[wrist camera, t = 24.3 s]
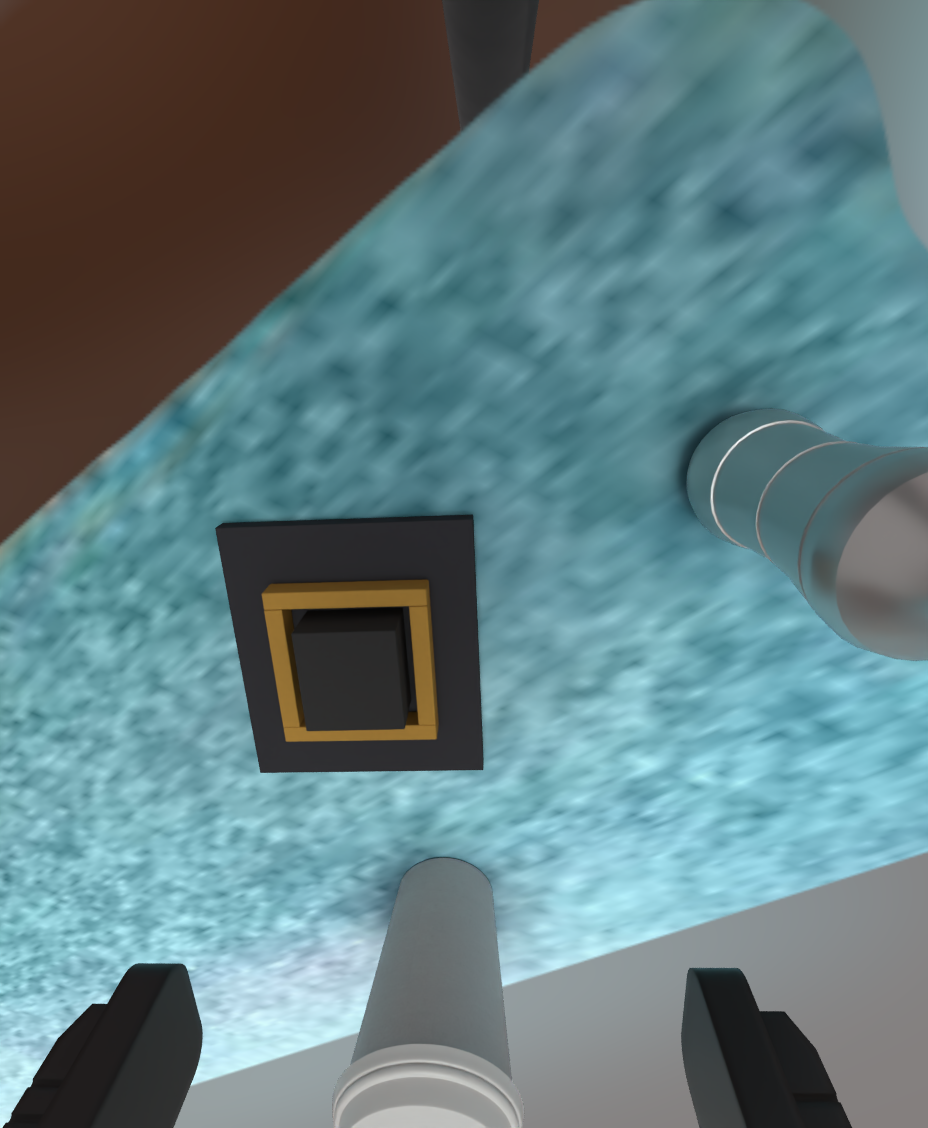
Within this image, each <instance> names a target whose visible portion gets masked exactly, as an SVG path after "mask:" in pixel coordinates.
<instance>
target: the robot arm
mask: <svg viewBox="0 0 928 1128" xmlns="http://www.w3.org/2000/svg"><path fill="white" fill-rule="evenodd" d="M202 1034H203V1033H202V1024H201V1020H200V1017H199V1013H198V1009H197V1005H196V1002H195V998H194V994H193V990H192V986H191V983H190V979H189V975H188V971H187V969H186V967H185V965H183V964H148V963H138V964H135V965H133V966H132V967H131V968H129V969H128V971H127V972H126V973H125V975H124V976H123V978H122V979H121V981H120V983H119V985H118V986H117V988H116V990H115V991H114V993H113V995H112V997H111V998H110V1000H109V1002H108V1004H92V1005H91V1006H90V1007H89V1008H88V1009H87V1010H86V1011H85V1012H84V1013H83V1014H82V1015H81V1016H80V1017H79V1018H78V1019H77V1020H76V1021H75V1022H74V1023H73V1024H72V1025H71V1026H70V1027H69V1028H68V1029H67V1030H66V1031H65V1032H64V1033H63V1034H62V1035H61V1036H60V1037H59V1038H58V1039H57V1041H56V1042H55V1044H54V1046H53V1047H52V1049H51V1051H50V1052H49V1054H48V1055H47V1057H46V1059H45V1060H44V1062H43V1063H42V1065H41V1067H40V1068H39V1070H38V1071H37V1073H36V1075H35V1076H34V1078H33V1083H32V1085H31V1087H28V1088H27V1089H26V1091H25V1092H24V1094H23V1096H22V1097H21V1099H20V1100H19V1102H18V1104H17V1105H16V1107H15V1109H14V1110H13V1112H12V1113H11V1114H12V1116H11V1119H10V1121H9V1122H8V1123H5V1125H4V1126H3V1128H173V1127H174V1125H175V1122H176V1120H177V1117H178V1115H179V1112H180V1110H181V1107H182V1105H183V1102H184V1100H185V1097H186V1095H187V1092H188V1090H189V1088H190V1085H191V1083H192V1080H193V1078H194V1075H195V1072H196V1069H197V1066H198V1062H199V1058H200V1054H201V1048H202ZM681 1039H682V1041H681V1042H682V1053H683V1061H684V1067H685V1073H686V1078H687V1082H688V1086H689V1090H690V1094H691V1097H692V1101H693V1105H694V1109H695V1112H696V1116H697V1120H698V1124H699V1127H700V1128H852V1127H851V1124H850V1122H849V1120H848V1118H847V1116H846V1114H845V1111H844V1109H843V1107H842V1105H841V1103H839V1102H838V1100H837V1096H836V1092H835V1090H834V1087H833V1085H832V1083H831V1081H830V1079H829V1076H828V1074H827V1072H826V1070H825V1068H824V1066H823V1064H822V1061H821V1059H820V1057H819V1055H818V1052H817V1050H816V1049H815V1047H814V1046H813V1045H812V1044H811V1043H810V1041H809V1040H808V1039H807V1038H806V1037H805V1036H804V1034H803V1033H802V1032H801V1031H800V1030H799V1028H798V1027H797V1026H796V1025H795V1024H794V1023H793V1021H792V1020H791V1019H790V1018H789V1017H788V1015H787V1014H786V1013H785V1012H781V1011H780V1012H779V1011H769V1012H768V1011H759V1009H758V1006H757V1004H756V1001H755V999H754V996H753V994H752V992H751V989H750V986H749V984H748V982H747V980H746V977H745V976H744V974H743V973H742V971H741V970H740V969H738V968H690V969H689V970H688V974H687V983H686V993H685V1002H684V1012H683V1023H682V1032H681Z"/></svg>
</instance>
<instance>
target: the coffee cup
mask: <svg viewBox="0 0 928 1128" xmlns="http://www.w3.org/2000/svg"><path fill="white" fill-rule="evenodd" d="M332 1099H333V1100H332V1110H333V1111H332V1113H333V1122H334V1128H522V1125H523V1120H524V1104H523V1100H522V1097H521V1095H520V1093H519V1091H518V1089H517V1087H516V1086H515V1084H514V1083H513V1082H512V1076H511V1067H510V1058H509V1049H508V1039H507V1030H506V1022H505V1012H504V1001H503V991H502V982H501V972H500V962H499V952H498V942H497V933H496V923H495V913H494V903H493V893H492V888H491V885H490V883H489V881H488V879H487V878H486V877H485V875H484V874H483V873H482V872H481V871H480V870H479V869H477V868H476V867H474V866H473V865H471V864H469V863H467V862H464V861H461V860H458V859H452V858H434V859H429V860H426V861H423V862H421V863H419V864H417V865H415V866H413V867H412V868H411V869H410V870H409V871H408V872H407V873H406V874H405V875H404V877H403V878H402V880H401V883H400V886H399V890H398V893H397V897H396V901H395V904H394V908H393V912H392V915H391V919H390V923H389V926H388V930H387V934H386V937H385V941H384V945H383V948H382V952H381V956H380V959H379V963H378V967H377V970H376V974H375V978H374V981H373V985H372V989H371V992H370V996H369V1000H368V1003H367V1007H366V1010H365V1014H364V1018H363V1021H362V1025H361V1028H360V1032H359V1036H358V1039H357V1043H356V1046H355V1050H354V1054H353V1057H352V1060H351V1064H350V1066H349V1067H348V1068H347V1069H346V1070H345V1071H344V1072H343V1074H342V1075H341V1077H340V1078H339V1079H338V1081H337V1083H336V1085H335V1089H334V1092H333V1098H332Z"/></svg>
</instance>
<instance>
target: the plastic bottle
mask: <svg viewBox="0 0 928 1128" xmlns="http://www.w3.org/2000/svg"><path fill="white" fill-rule="evenodd" d="M686 486H687V493H688V498H689V500H690V503H691V505H692V508H693V510H694V512H695V514H696V516H697V517H698V519H699V520H700V522H701V523H702V525H703V526H704V527H705V528H706V529H707V530H708V531H709V532H710V533H711V534H713V535H715V536H716V537H718V538H720V539H722V540H724V541H726V542H729V543H731V544H733V545H736V546H740V547H743V548H746V549H751V550H752V551H754V552H756V553H758V554H760V555H762V556H764V557H766V558H768V559H769V560H770V561H771V562H772V563H773V564H774V565H776V566H777V567H778V568H779V569H780V570H781V571H782V572H783V573H784V574H785V575H786V576H788V577H789V578H790V580H791V581H792V582H793V584H794V585H795V586H796V588H797V589H798V590H799V592H800V593H801V594H802V595H803V597H804V598H805V599H806V601H807V602H808V603H809V605H810V606H811V607H812V609H813V610H814V611H815V613H816V614H817V615H818V616H819V617H820V618H821V619H822V620H823V621H824V622H825V623H826V624H827V625H828V626H829V627H830V628H831V629H832V630H833V631H834V632H835V633H836V634H837V635H838V636H839V637H840V638H841V639H843V640H845V641H847V642H848V643H850V644H852V645H854V646H856V647H857V648H861V649H864V650H867V651H870V652H874V653H877V654H880V655H884V656H887V657H890V658H894V659H901V660H910V661H922V660H928V447H879V446H873V445H867V444H860V443H855V442H849V441H845V440H843V439H840V438H838V437H836V436H834V435H831V434H829V433H827V432H825V431H824V430H823V429H822V428H821V427H819V426H818V425H816V424H814V423H813V422H811V421H810V420H808V419H806V418H804V417H802V416H801V415H799V414H796V413H793V412H790V411H787V410H783V409H773V408H770V409H760V410H753V411H748V412H744V413H741V414H737V415H734V416H732V417H730V418H728V419H726V420H724V421H722V422H721V423H720V424H718V425H717V426H716V427H714V428H713V429H712V430H711V431H710V432H709V433H708V434H707V435H706V436H705V437H704V438H703V439H702V440H701V442H700V443H699V445H698V446H697V448H696V449H695V451H694V454H693V456H692V458H691V460H690V463H689V467H688V471H687V483H686Z"/></svg>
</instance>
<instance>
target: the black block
mask: <svg viewBox="0 0 928 1128" xmlns="http://www.w3.org/2000/svg"><path fill="white" fill-rule="evenodd" d="M291 636H292V642H293V649H294V655H295V661H296V668H297V674H298V680H299V687H300V693H301V699H302V706H303V712H304V718H305V724H306V730H307V731H348V730H395V729H405V726H406V721H407V717H408V712H409V708H410V703H411V692H410V681H409V670H408V660H407V649H406V638H405V627H404V616H403V609H402V608H386V609H355V610H324V611H306V613H305V614H304V616H303V617H302V619H301V620H300V622H299V623H298V625H297V626H296V628H295V629H294V631H293V632H292V634H291Z"/></svg>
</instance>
